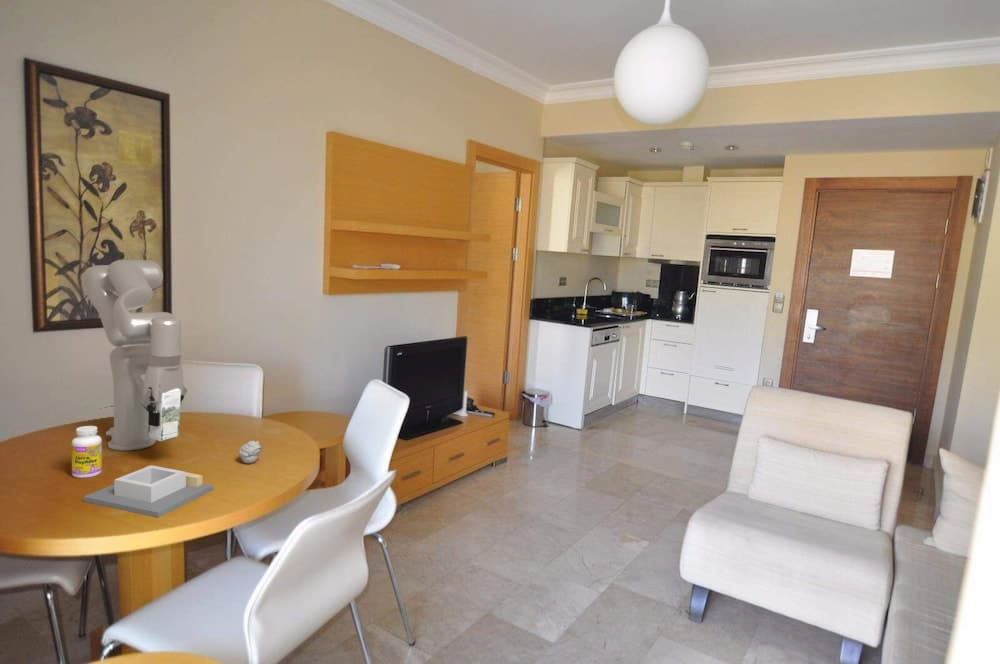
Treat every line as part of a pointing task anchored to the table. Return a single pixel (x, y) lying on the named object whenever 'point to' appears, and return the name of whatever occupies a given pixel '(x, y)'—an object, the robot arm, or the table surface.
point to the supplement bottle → (86, 452)
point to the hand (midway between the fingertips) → (164, 421)
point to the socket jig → (151, 491)
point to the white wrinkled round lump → (250, 451)
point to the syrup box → (167, 417)
